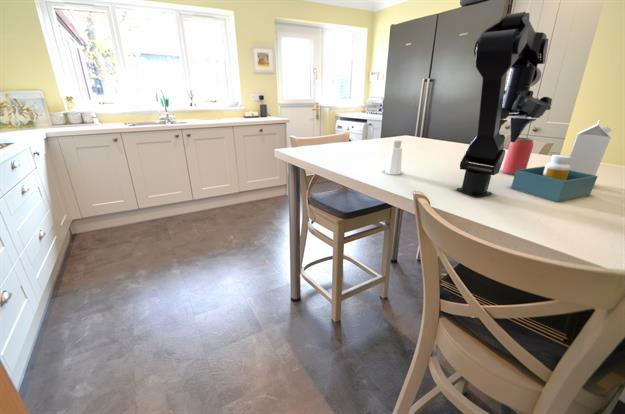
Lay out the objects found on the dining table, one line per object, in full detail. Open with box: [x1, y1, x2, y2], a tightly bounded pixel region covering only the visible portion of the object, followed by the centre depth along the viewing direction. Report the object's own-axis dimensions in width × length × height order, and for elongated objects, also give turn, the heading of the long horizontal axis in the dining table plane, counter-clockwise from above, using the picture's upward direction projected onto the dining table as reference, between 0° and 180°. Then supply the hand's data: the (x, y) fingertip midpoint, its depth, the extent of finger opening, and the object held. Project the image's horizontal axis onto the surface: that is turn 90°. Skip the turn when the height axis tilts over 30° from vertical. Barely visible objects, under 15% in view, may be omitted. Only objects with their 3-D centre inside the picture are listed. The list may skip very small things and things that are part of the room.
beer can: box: [502, 136, 534, 176], centre depth 97 cm, size 7×7×12 cm
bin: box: [510, 165, 598, 203], centre depth 80 cm, size 15×12×6 cm
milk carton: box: [568, 119, 613, 176], centre depth 85 cm, size 7×7×19 cm
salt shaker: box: [384, 139, 403, 176], centre depth 95 cm, size 5×5×11 cm
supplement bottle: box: [542, 154, 571, 181], centre depth 79 cm, size 5×5×10 cm
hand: (502, 142), depth 85 cm, fingers open, 9 cm apart
